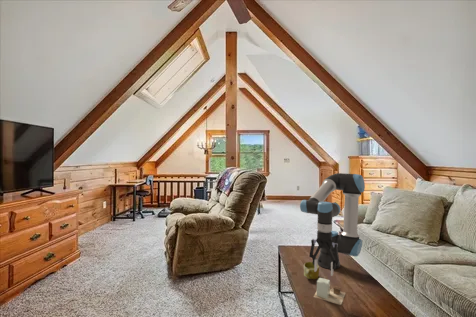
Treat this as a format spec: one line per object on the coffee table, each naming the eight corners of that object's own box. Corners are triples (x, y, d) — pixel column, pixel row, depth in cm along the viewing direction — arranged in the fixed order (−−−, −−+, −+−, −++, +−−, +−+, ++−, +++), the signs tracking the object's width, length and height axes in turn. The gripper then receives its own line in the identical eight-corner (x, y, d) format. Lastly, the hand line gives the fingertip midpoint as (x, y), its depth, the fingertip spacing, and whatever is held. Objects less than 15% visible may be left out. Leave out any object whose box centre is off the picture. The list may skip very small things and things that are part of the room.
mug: (307, 268, 171) (310, 256, 167) (320, 278, 164) (324, 266, 160) (296, 277, 163) (298, 265, 159) (309, 288, 156) (312, 275, 152)
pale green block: (319, 291, 144) (319, 277, 144) (329, 294, 141) (329, 280, 141) (316, 295, 139) (316, 281, 139) (327, 298, 136) (327, 284, 136)
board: (319, 287, 150) (320, 280, 150) (345, 294, 143) (345, 287, 143) (313, 298, 138) (313, 291, 138) (341, 307, 131) (341, 299, 131)
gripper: (303, 229, 142) (302, 270, 142) (343, 236, 131) (342, 280, 131) (307, 226, 148) (306, 265, 149) (346, 232, 138) (345, 274, 138)
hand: (323, 272), depth 140 cm, fingers open, 8 cm apart
